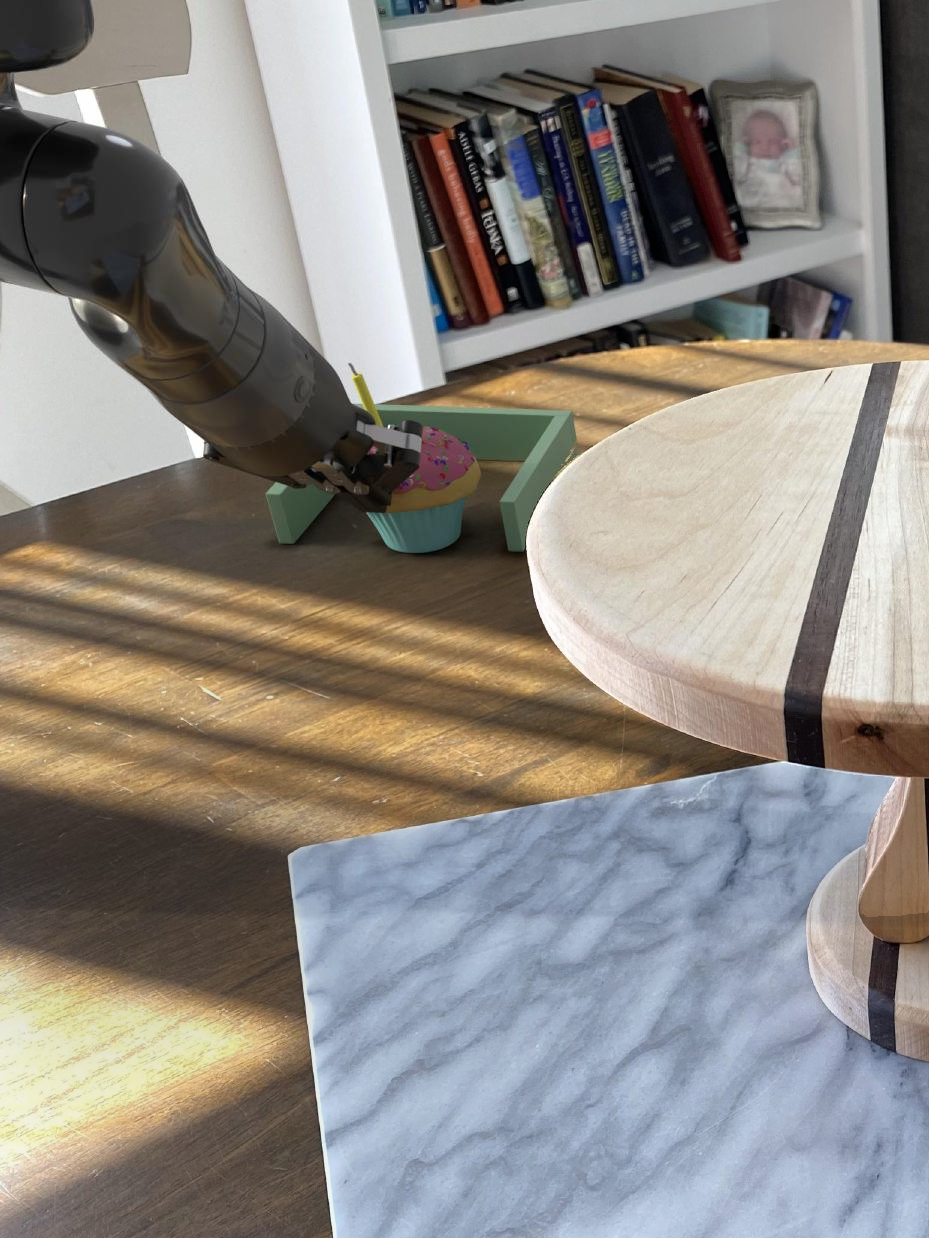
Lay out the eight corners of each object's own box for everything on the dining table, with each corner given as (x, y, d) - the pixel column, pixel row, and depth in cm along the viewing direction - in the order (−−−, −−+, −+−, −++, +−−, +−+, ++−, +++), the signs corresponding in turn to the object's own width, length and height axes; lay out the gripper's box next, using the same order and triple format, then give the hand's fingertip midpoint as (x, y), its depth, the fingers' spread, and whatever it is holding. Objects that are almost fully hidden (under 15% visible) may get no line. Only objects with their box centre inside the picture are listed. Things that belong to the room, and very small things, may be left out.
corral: (523, 552, 109) (514, 501, 107) (278, 543, 109) (264, 493, 107) (579, 457, 121) (572, 410, 119) (358, 450, 121) (347, 403, 119)
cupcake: (377, 578, 106) (332, 392, 99) (338, 527, 111) (293, 348, 104) (509, 546, 110) (475, 365, 102) (465, 498, 115) (430, 323, 108)
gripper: (373, 311, 87) (487, 443, 104) (122, 302, 87) (276, 435, 105) (359, 450, 86) (476, 560, 103) (105, 440, 87) (264, 552, 104)
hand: (375, 497), depth 104 cm, fingers closed
